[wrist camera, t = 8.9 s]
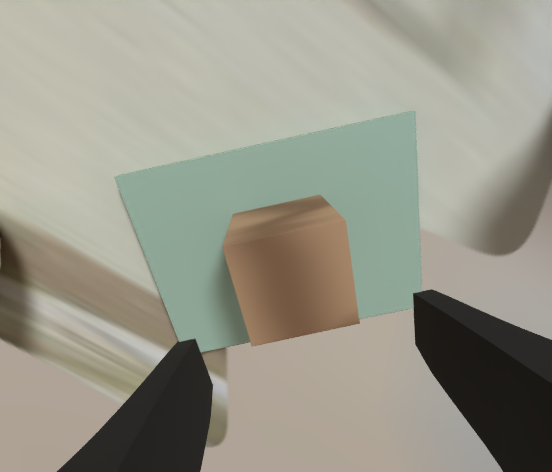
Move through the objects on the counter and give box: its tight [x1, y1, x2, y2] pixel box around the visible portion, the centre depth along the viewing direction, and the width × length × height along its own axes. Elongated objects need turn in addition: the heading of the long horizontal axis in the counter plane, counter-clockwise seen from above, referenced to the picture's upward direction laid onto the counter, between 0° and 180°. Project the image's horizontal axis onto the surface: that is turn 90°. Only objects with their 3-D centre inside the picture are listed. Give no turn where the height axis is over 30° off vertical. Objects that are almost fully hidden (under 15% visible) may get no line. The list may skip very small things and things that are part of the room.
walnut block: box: [222, 195, 360, 346], centre depth 15 cm, size 5×5×5 cm
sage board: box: [114, 111, 422, 352], centre depth 18 cm, size 16×12×1 cm
